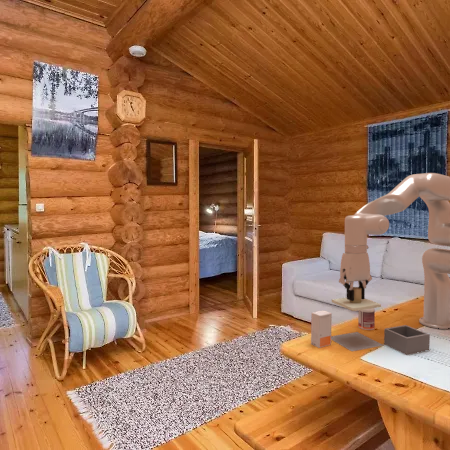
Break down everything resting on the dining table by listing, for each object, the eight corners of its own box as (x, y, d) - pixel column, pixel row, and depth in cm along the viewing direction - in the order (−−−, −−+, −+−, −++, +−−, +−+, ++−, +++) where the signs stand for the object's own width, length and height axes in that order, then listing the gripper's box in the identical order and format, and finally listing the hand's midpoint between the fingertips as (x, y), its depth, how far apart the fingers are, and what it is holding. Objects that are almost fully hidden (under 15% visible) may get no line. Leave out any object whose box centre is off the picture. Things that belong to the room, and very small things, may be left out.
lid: (357, 298, 139) (357, 283, 138) (380, 306, 128) (381, 290, 127) (331, 302, 135) (331, 286, 134) (353, 311, 124) (353, 294, 123)
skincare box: (318, 349, 126) (319, 315, 126) (310, 344, 130) (310, 312, 129) (331, 345, 129) (332, 313, 128) (323, 341, 133) (323, 309, 132)
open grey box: (405, 340, 132) (405, 324, 132) (429, 351, 123) (429, 334, 123) (384, 344, 129) (384, 328, 129) (406, 356, 120) (407, 338, 119)
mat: (357, 332, 141) (357, 332, 141) (384, 346, 128) (384, 345, 128) (327, 337, 136) (327, 336, 136) (351, 352, 123) (351, 351, 123)
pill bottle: (377, 328, 145) (378, 301, 145) (368, 332, 142) (368, 303, 141) (364, 324, 150) (364, 297, 150) (354, 327, 147) (355, 300, 146)
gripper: (367, 246, 136) (366, 294, 137) (329, 249, 131) (330, 299, 132) (381, 249, 129) (381, 299, 130) (343, 252, 124) (343, 304, 125)
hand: (355, 298), depth 131 cm, fingers closed on lid, 4 cm apart
